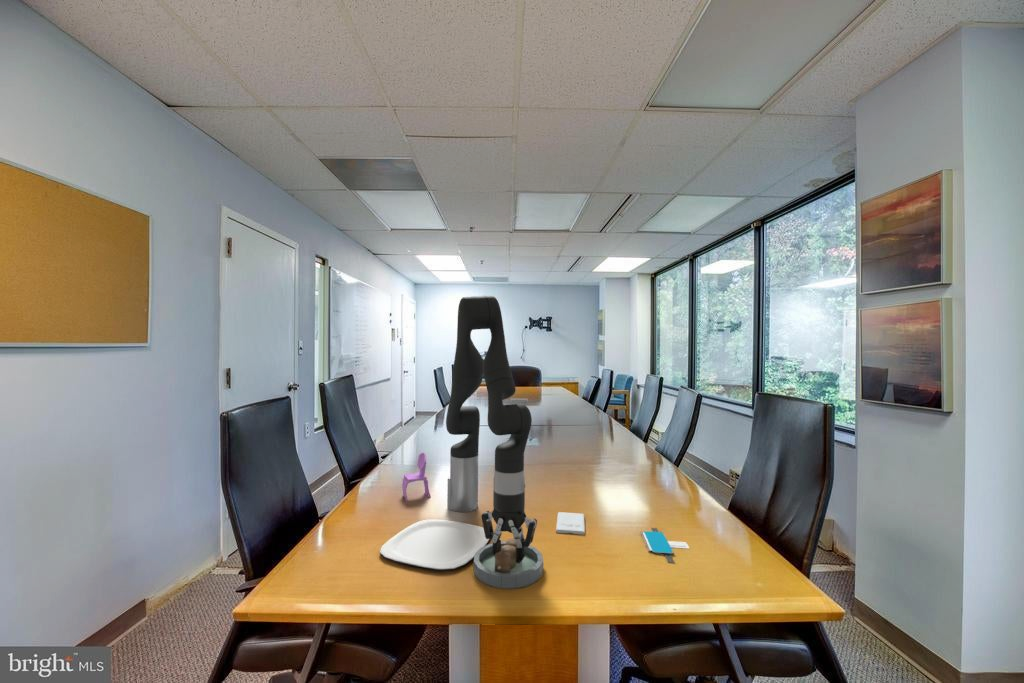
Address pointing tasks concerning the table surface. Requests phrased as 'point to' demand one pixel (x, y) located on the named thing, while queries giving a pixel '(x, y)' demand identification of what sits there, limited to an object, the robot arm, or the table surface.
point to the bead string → (506, 557)
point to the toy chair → (417, 476)
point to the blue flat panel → (661, 544)
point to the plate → (435, 544)
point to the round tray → (518, 576)
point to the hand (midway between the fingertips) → (508, 559)
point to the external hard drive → (570, 523)
